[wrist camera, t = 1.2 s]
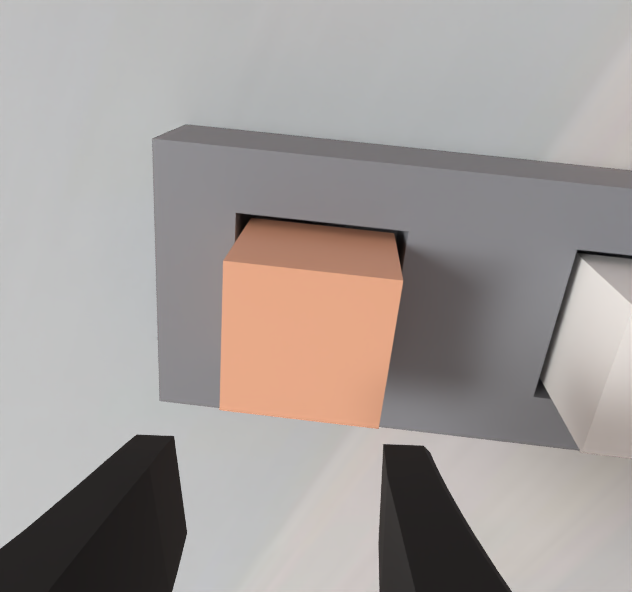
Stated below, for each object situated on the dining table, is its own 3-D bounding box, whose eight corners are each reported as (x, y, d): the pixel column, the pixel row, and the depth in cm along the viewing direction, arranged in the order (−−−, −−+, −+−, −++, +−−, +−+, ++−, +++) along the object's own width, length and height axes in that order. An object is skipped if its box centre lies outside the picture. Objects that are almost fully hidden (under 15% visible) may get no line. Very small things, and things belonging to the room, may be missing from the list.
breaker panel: (789, 187, 16) (876, 214, 14) (689, 416, 20) (742, 475, 17) (185, 124, 17) (151, 138, 14) (186, 358, 20) (159, 406, 17)
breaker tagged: (394, 233, 15) (403, 280, 12) (374, 358, 17) (378, 428, 14) (251, 217, 16) (222, 260, 12) (245, 343, 17) (219, 410, 14)
